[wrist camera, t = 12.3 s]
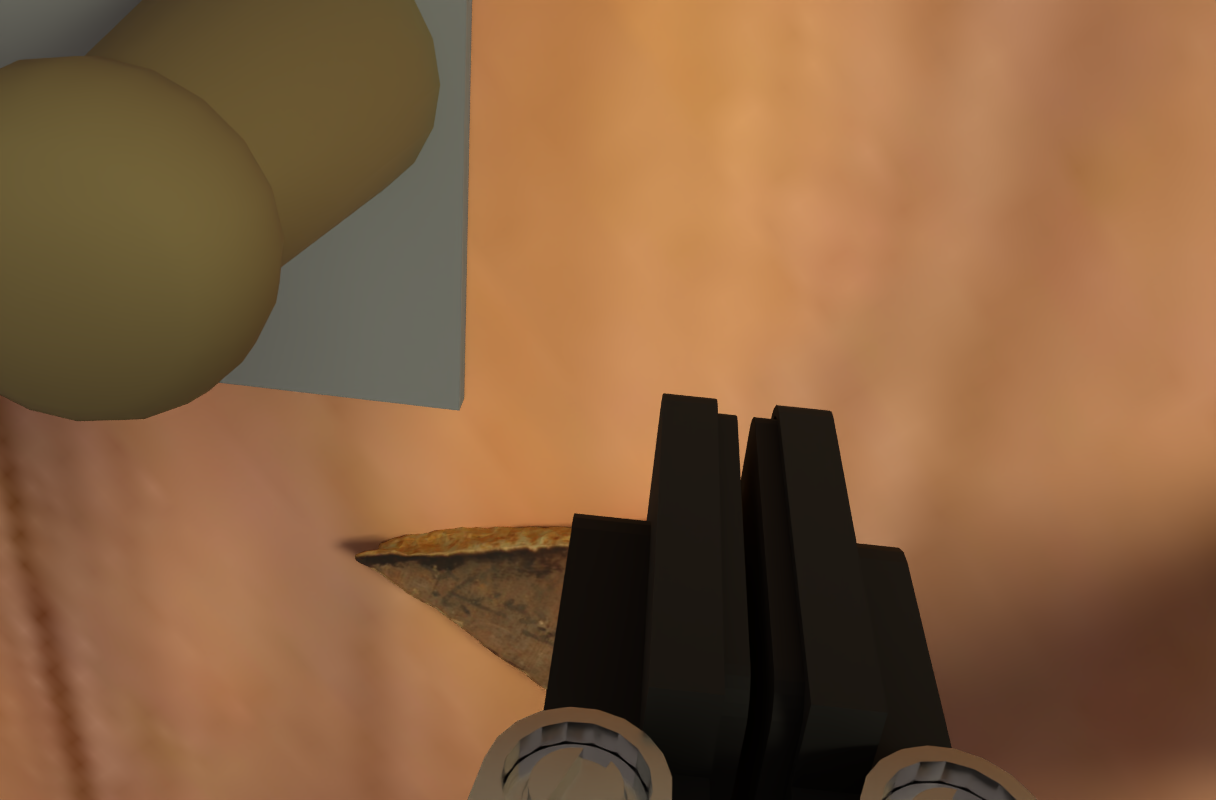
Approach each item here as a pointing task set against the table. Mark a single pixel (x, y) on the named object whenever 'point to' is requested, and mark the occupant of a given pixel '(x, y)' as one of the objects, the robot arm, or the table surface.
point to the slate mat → (345, 239)
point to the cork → (189, 186)
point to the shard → (487, 585)
